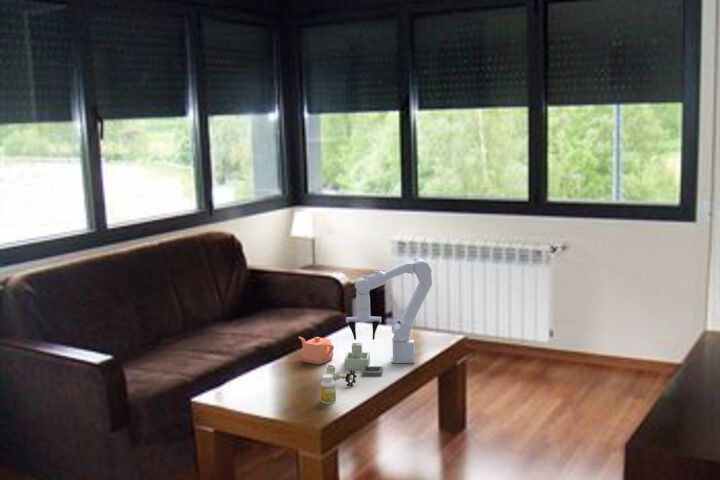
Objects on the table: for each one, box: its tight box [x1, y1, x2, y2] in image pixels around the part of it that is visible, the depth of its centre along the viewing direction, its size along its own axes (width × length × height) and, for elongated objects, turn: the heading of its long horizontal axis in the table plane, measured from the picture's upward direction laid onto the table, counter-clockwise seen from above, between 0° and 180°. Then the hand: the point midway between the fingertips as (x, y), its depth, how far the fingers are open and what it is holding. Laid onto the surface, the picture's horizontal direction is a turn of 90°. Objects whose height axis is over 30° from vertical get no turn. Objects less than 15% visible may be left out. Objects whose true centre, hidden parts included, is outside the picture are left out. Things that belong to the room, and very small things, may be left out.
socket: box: [362, 365, 384, 377], centre depth 314 cm, size 8×8×2 cm
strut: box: [351, 342, 363, 359], centre depth 324 cm, size 4×4×8 cm
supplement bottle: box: [320, 373, 337, 405], centre depth 284 cm, size 5×5×10 cm
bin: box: [344, 351, 371, 370], centre depth 324 cm, size 10×10×4 cm
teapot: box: [298, 336, 335, 365], centre depth 331 cm, size 12×18×10 cm, turn 57°
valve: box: [325, 364, 358, 387], centre depth 303 cm, size 7×7×12 cm
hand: (364, 339), depth 326 cm, fingers open, 7 cm apart
